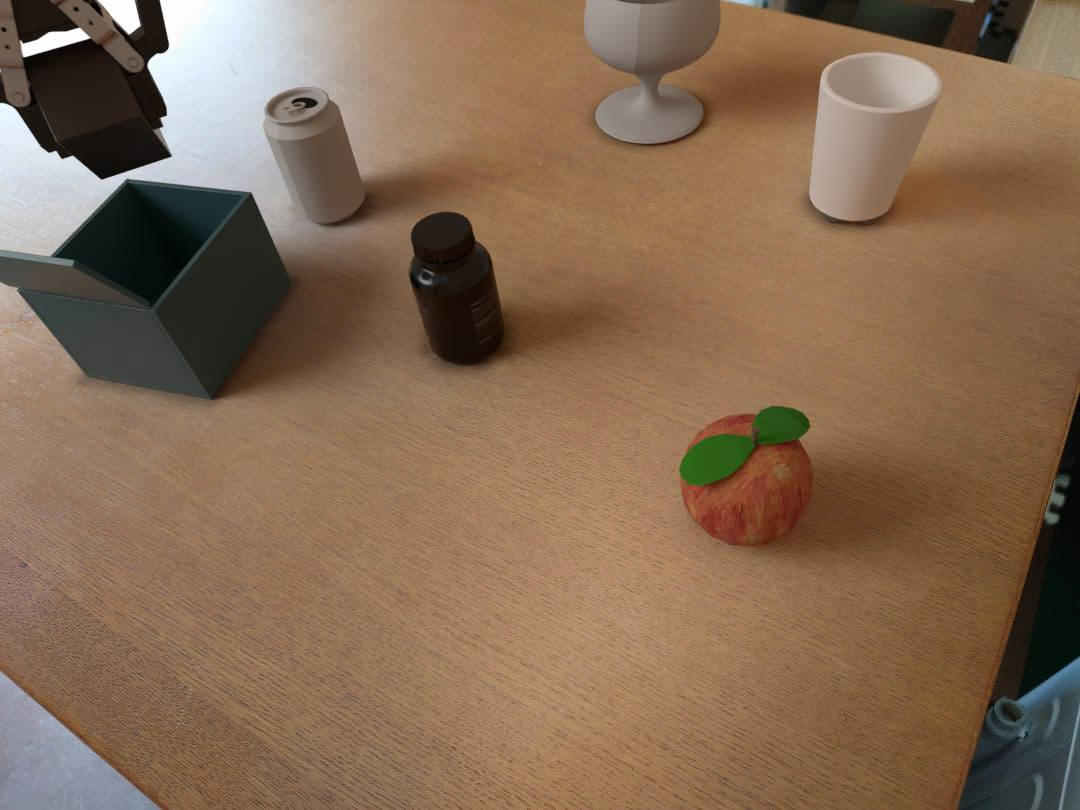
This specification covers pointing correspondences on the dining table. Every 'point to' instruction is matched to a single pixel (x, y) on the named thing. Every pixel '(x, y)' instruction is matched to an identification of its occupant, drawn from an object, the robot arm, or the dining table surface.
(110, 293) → the flap
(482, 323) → the supplement bottle
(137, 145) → the block
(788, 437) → the fruit
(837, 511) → the dining table surface
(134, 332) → the carton
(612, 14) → the chalice
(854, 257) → the dining table surface
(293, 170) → the can
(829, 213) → the cup
